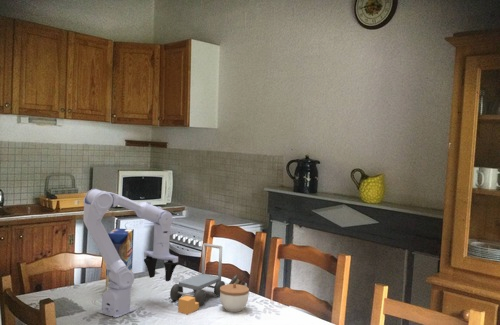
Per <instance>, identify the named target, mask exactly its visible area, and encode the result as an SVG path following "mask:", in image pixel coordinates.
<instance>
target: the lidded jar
mask: <svg viewBox="0 0 500 325" xmlns="http://www.w3.org/2000/svg"><path fill="white" fill-rule="evenodd" d="M249 292H250V288H249V287H248V286H247V287H246V286H244V285H239V284H235V283H234V284H229V283H227V284H225V285H223V286H221V287H220V297H219V299H220V303H221V305H222V307H223V308H225V309H224V310H226V312H231V313H239V312H241V311H242V310H243V309H244V308H245V307H246V305H247V303H248V301H249V300H248V299H249Z"/></svg>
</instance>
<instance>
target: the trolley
mask: <svg viewBox="0 0 500 325" xmlns="http://www.w3.org/2000/svg"><path fill="white" fill-rule="evenodd" d="M207 247H208V248H211V249H218V251H219V252H218V270H217V271H218V272H217V273H218V274H217V275H213V274H208V273H205V269H206V251H207V250H206V248H207ZM201 254H202V258H201V273H200V274H199V273H198V274H197V275H195V276H191V277H188V278H186V279H184V280H181V281H179V282H178V283H175V284H174V285H173V286H172V287H171V288H170V292H169V297H170V299H171V300H173V301H175V302H177V301H179V298H182V297H183V296H186V295H187V296H191V297H195V302H199V307H201V306H202V305H203V304H204V303H205V300H206V297H207V296H206V291H205V290H204V289H205V288H210V289H213V294H214V296H216V297H219V298H220V287H221V286H223V285H226V283H225V281H223V280H222V268H223V267H222V264H223V262H222V261H223V246H222V245H218V244H211V243H205V242H204V243H203V244H202V253H201ZM214 284H215V285H214ZM184 288H186V289H189V290H193V291H194V293H193V294H192V293H186V292H184Z"/></svg>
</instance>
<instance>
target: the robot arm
mask: <svg viewBox="0 0 500 325" xmlns="http://www.w3.org/2000/svg"><path fill="white" fill-rule="evenodd" d="M82 202H83V218H82V220H83V223H84V226H85V227H86V229H87V231H88V232H89V235H90V236H91V238H92V241H93V242H94V244H95V246H96V248H97V250H98V251H99V253H100V255H101V258H102V259H103V261H104V263H105V269H107V272H108V278H109V280H110V281H111V282H110V287H109V289H108V290H106V289H105V291H103V293H102V296H101V310H100V311H99V313H100V314H103V315H106V316H108V317H109V316H110V317H112V316H113V317H112V318H116V317H117V318H119V316H120V317H121V316H122V317H123V316H125V315H127V314H129V313H132V312H134V311H136V308H135V307H131V297H132V296H131V295H132V294H131V293H132V292H131V291H132V285H133V283H134V282H135V279H136V278H135V273H134V272H133V270H132V271H130V270H129V269H128V268H127V266H126V265H125V263H124V262H123V261H122V260H121V258H120V256H119V255H118V253H117V251H116V249H115V247H114V245H113V243H112V241H111V239H110V237H109V235H108V233H109V232H107V229H106V228H105V226H104V224H103V222H102V220H103V218H104V215H106V213H107V212H108V210H110V208H111V207H112V208H116V207H117V206H119V207H122V208H125V209H127V210H130V211H133V212H135V214H136V216H137V218H141V219H143V220H146V221H148V222H150V223H153V224H154V225H153V226H154V227H153V249H152V250H146V251H144V252H143V257H144V258H143V262H144V264H145V266H146V268H147V272H148V276H149V279H150V278H154V277H155V276H156V267H157V262H158V260H162V261H166V262H163V266H164V271H165V275H164V276H165V277H164V278H165V282H170V281H172V280H171V279H172V277H173V276H172V275H173V273H174V270H175V269H176V266H177V265H178V263H179V256H177V255H174V254H171V253H170V237H171V235H170V234H171V226H172V224H173V223H174V218H173V214H172V213H171V212H170V211H168V210H166V209H162V206H156V205H153V204H152V202H150V201H147V200H146V201H141V202H139V203H138V202H136V201H134V200H133V199H129V198H128V197H126V196H123V195H121V194H117V193H114V192H109V191H105V190H100V189H98V188H91V189H89V191H87V192H86V194H85V196H84V198H83V200H82Z"/></svg>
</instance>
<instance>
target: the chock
mask: <svg viewBox="0 0 500 325" xmlns="http://www.w3.org/2000/svg"><path fill="white" fill-rule="evenodd" d="M177 304H178V311H177V312H178V313H181V314H184V315H189V314H191V313H194V312H196V311H197V310H199V309H200V306H199V302H195V297H191V296H187V295H183V296H181V298H179V300H178V303H177Z"/></svg>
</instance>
